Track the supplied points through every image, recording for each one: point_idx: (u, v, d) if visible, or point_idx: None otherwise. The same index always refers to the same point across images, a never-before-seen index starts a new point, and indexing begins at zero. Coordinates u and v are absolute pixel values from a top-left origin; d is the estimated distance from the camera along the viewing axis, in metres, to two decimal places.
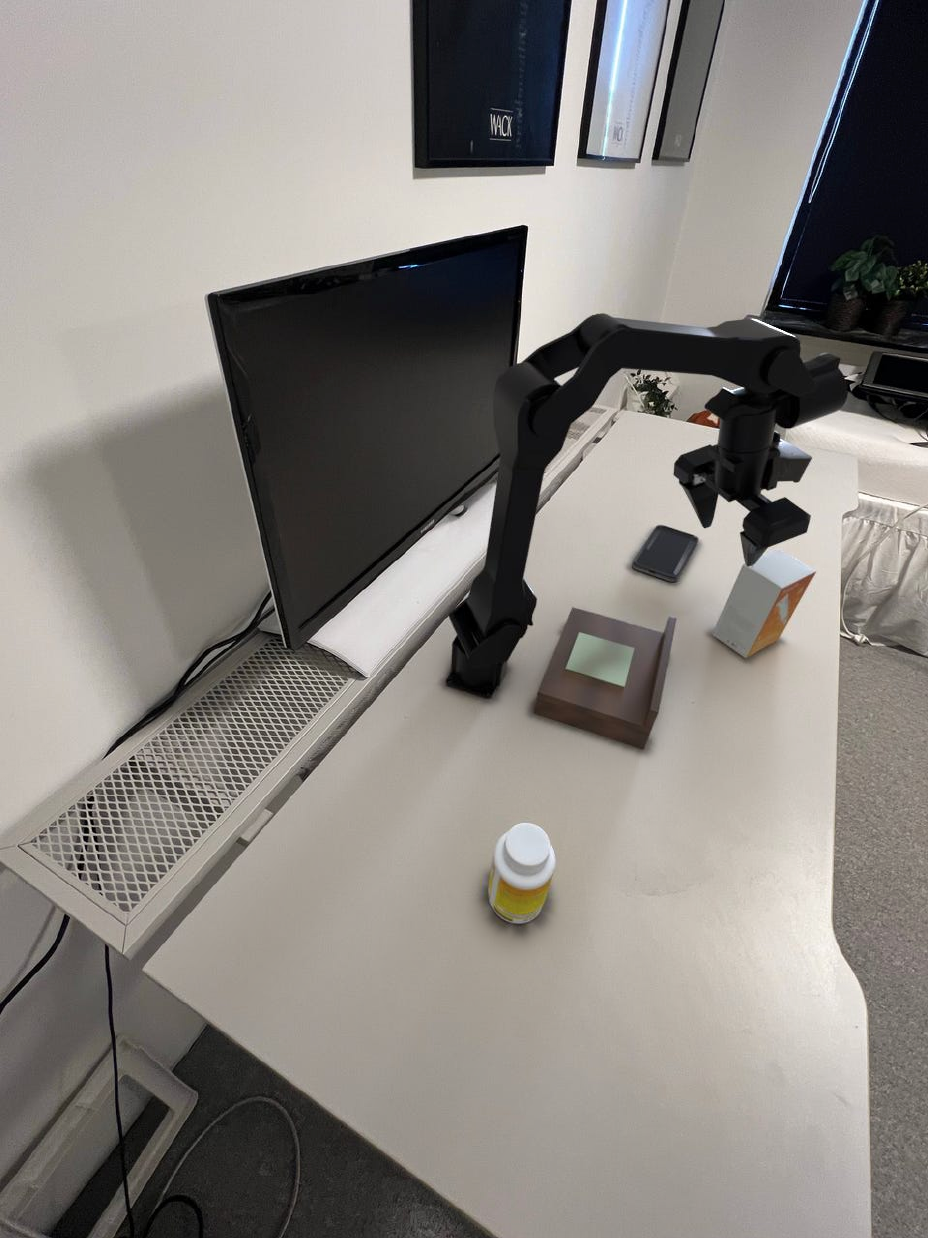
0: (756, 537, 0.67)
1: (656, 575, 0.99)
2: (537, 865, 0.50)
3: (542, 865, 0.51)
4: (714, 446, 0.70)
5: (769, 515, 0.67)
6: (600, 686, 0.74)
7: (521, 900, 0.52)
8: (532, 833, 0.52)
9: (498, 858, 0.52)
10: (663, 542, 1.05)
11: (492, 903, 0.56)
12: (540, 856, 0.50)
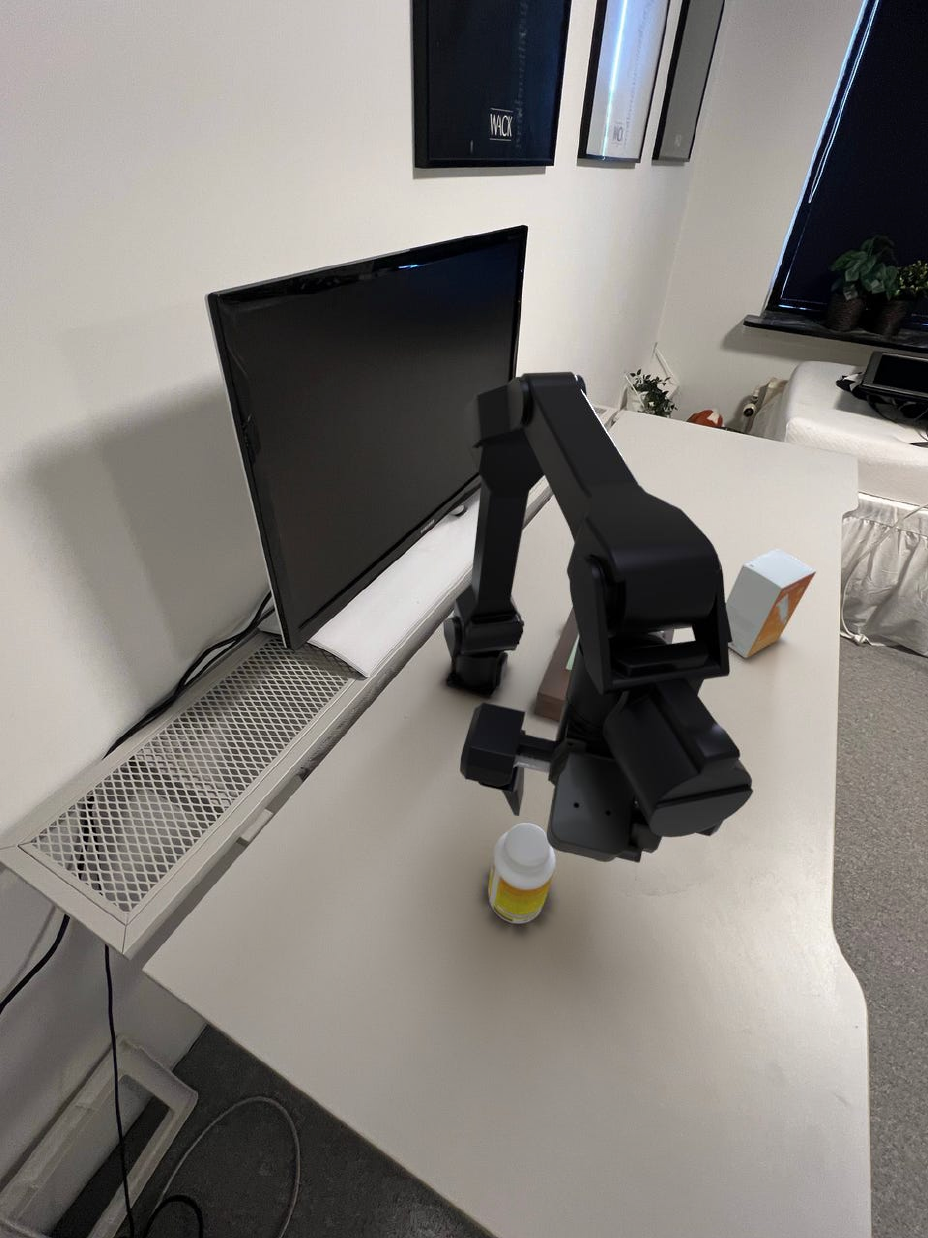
0: None
1: None
2: (537, 865, 0.50)
3: (542, 865, 0.51)
4: None
5: (498, 715, 0.45)
6: None
7: (521, 900, 0.52)
8: (532, 833, 0.52)
9: (498, 858, 0.52)
10: None
11: (492, 903, 0.56)
12: (540, 856, 0.50)
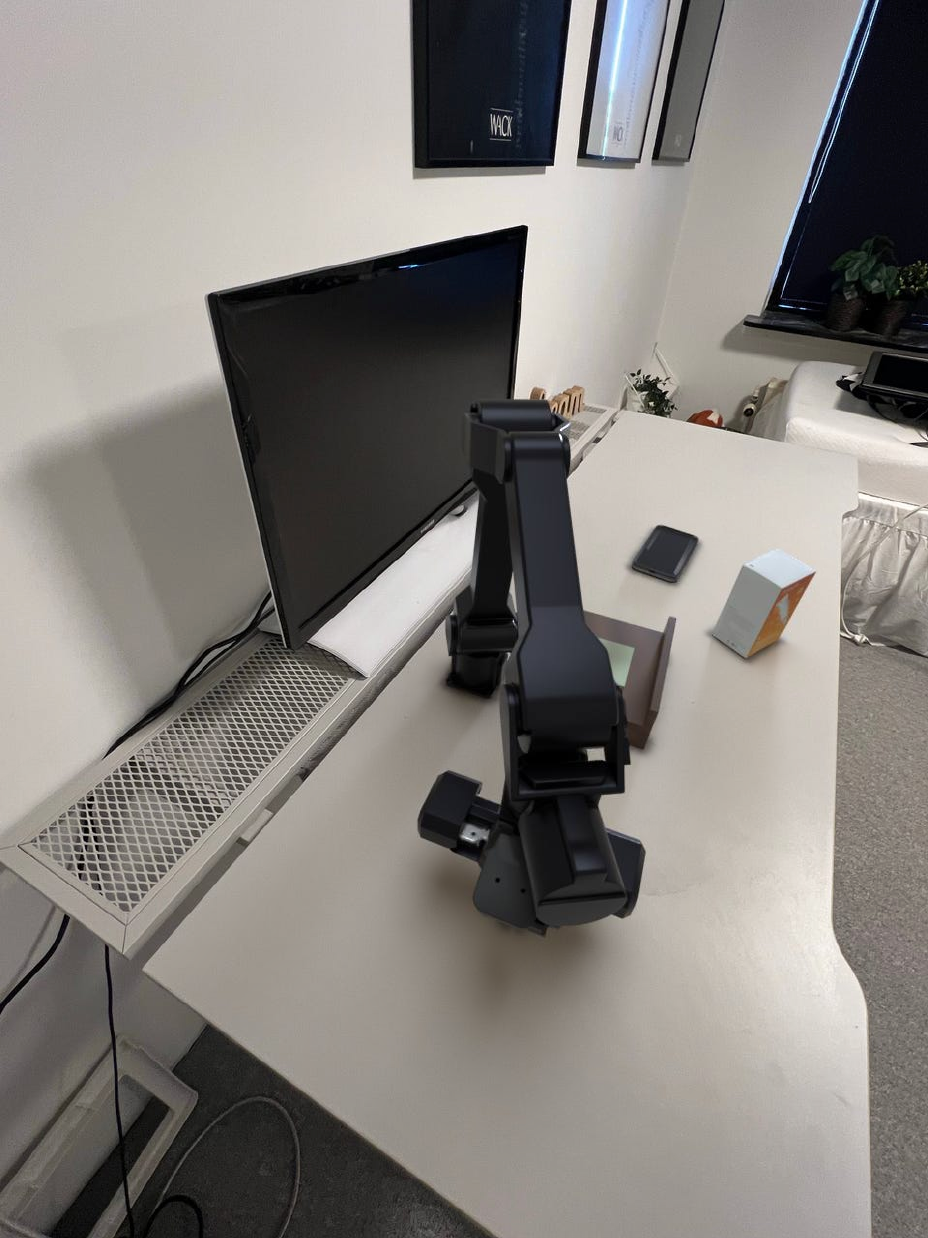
0: None
1: (656, 575, 0.99)
2: None
3: None
4: None
5: (456, 785, 0.52)
6: None
7: None
8: None
9: None
10: (663, 542, 1.05)
11: None
12: None
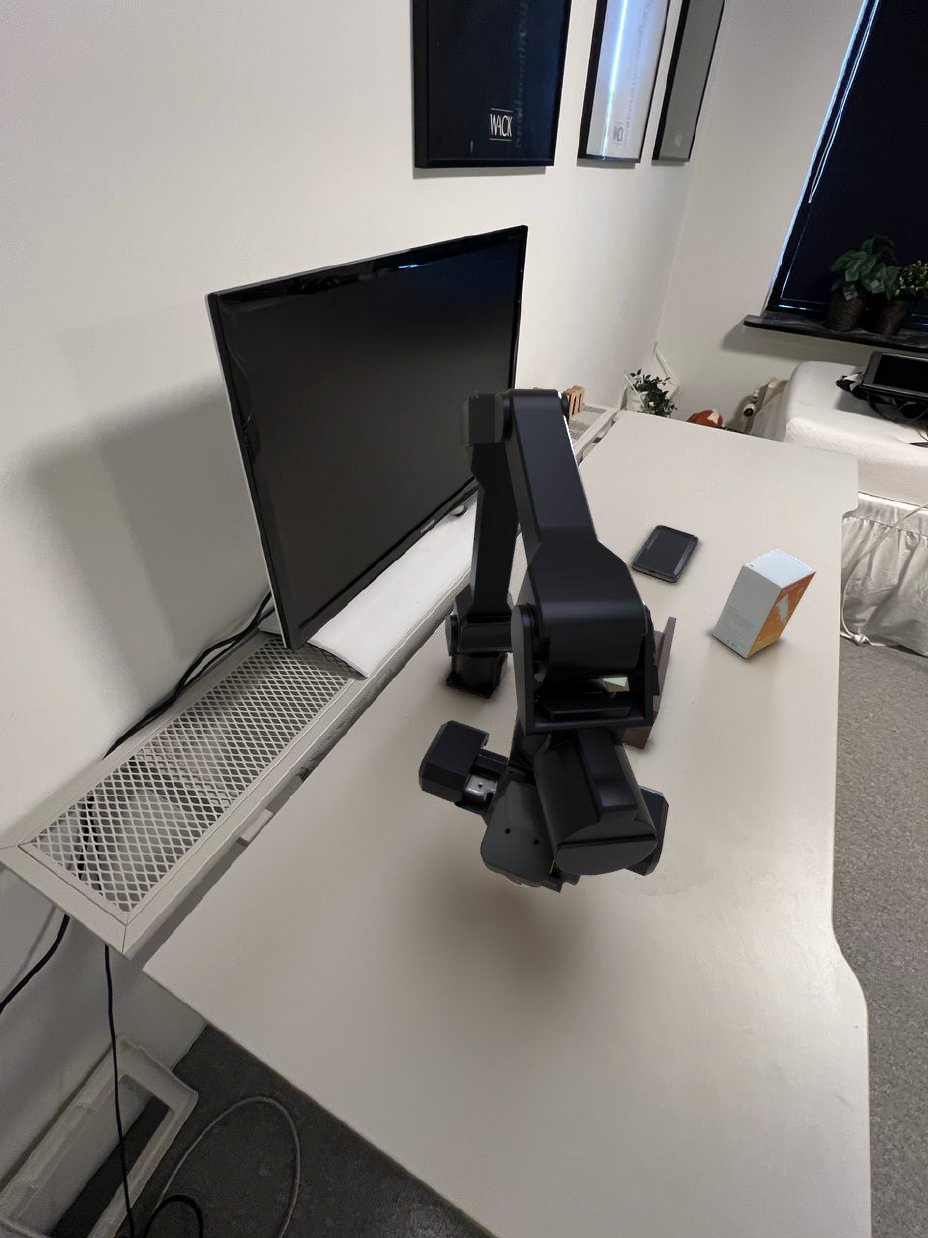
0: None
1: (656, 575, 0.99)
2: None
3: None
4: None
5: (461, 734, 0.48)
6: None
7: None
8: None
9: None
10: (663, 542, 1.05)
11: None
12: None
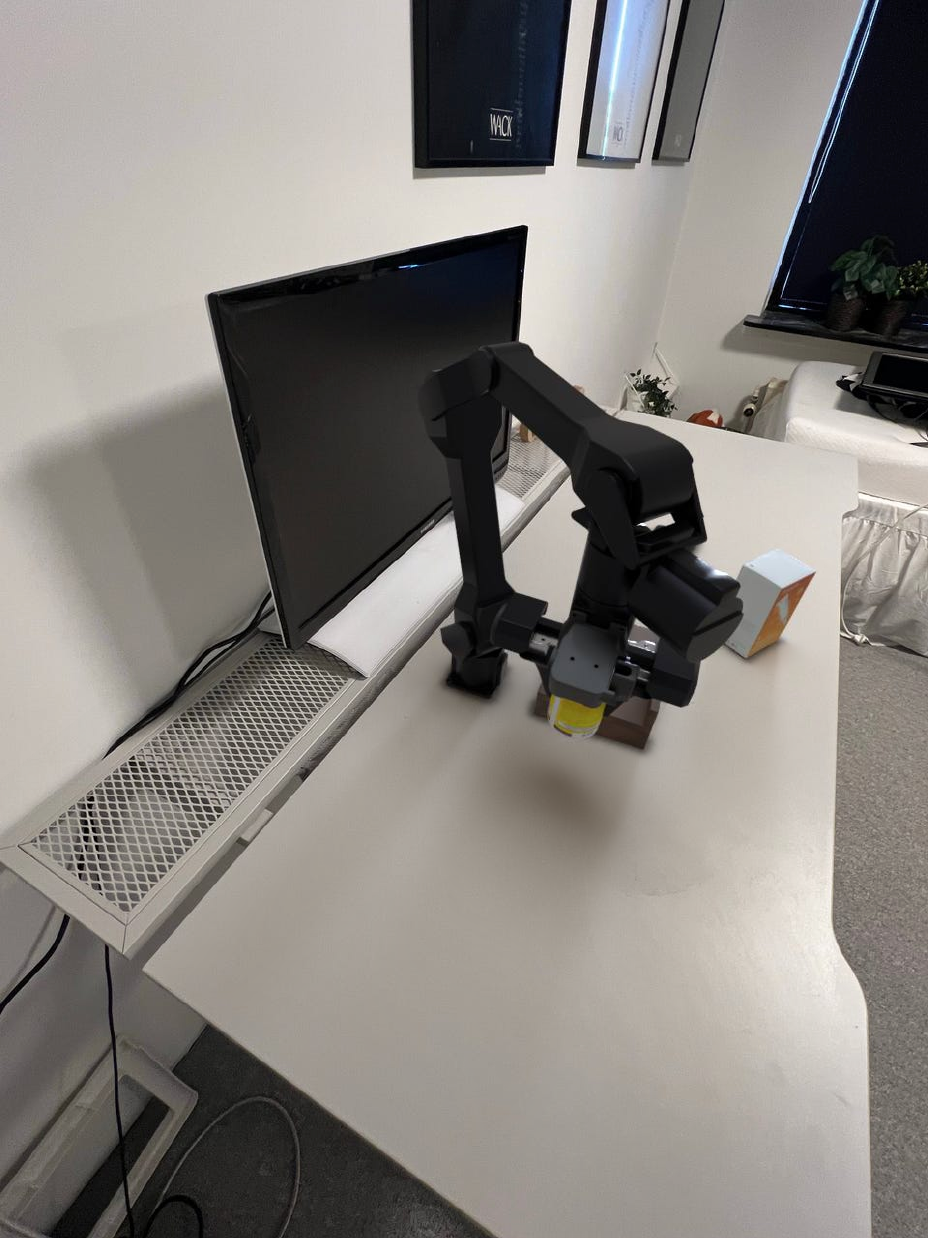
0: None
1: None
2: None
3: None
4: None
5: (525, 601, 0.57)
6: None
7: (583, 709, 0.57)
8: None
9: None
10: None
11: (552, 721, 0.61)
12: None
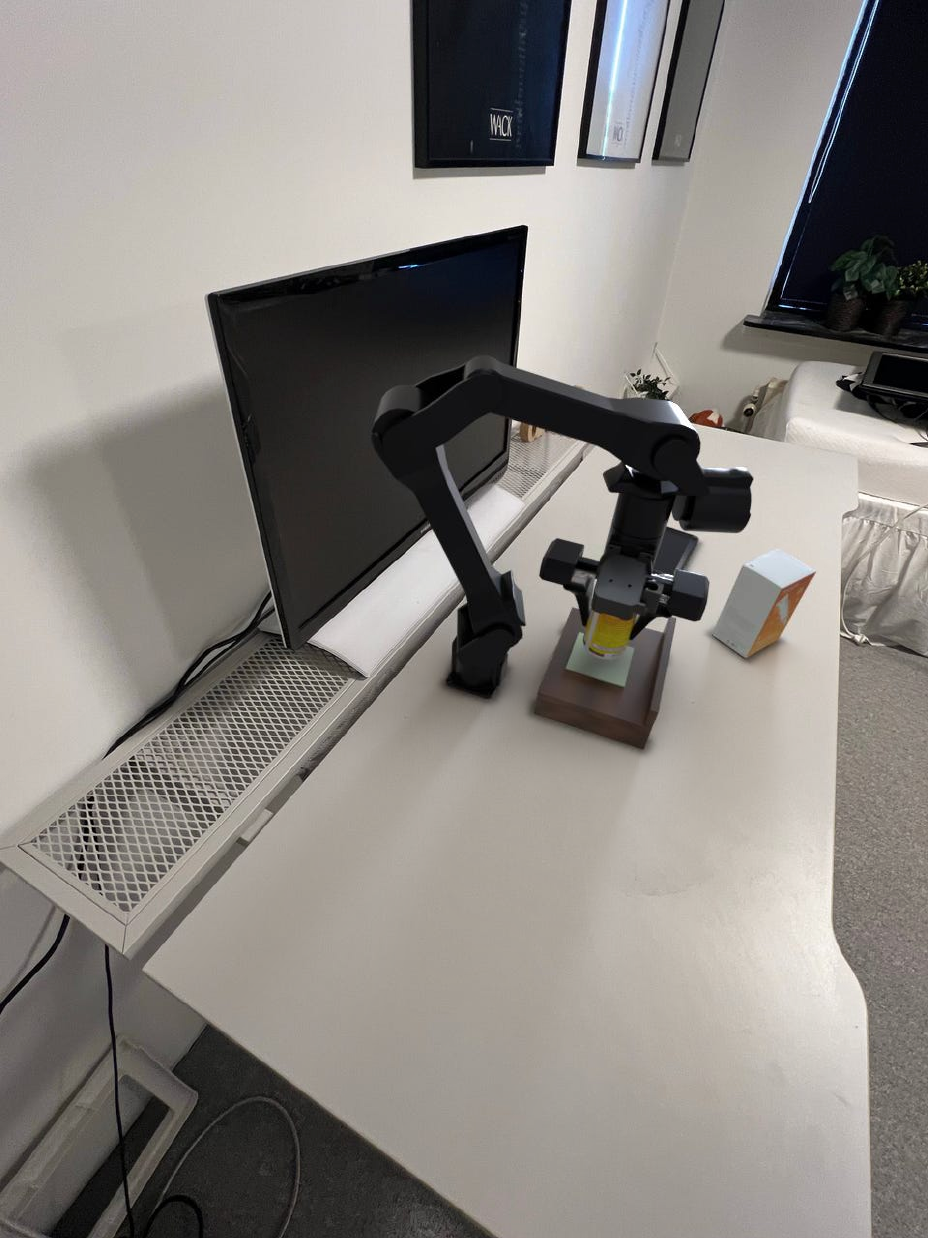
0: None
1: None
2: None
3: None
4: None
5: (567, 544, 0.71)
6: (600, 686, 0.74)
7: (615, 631, 0.71)
8: None
9: None
10: (663, 542, 1.05)
11: (588, 645, 0.75)
12: None
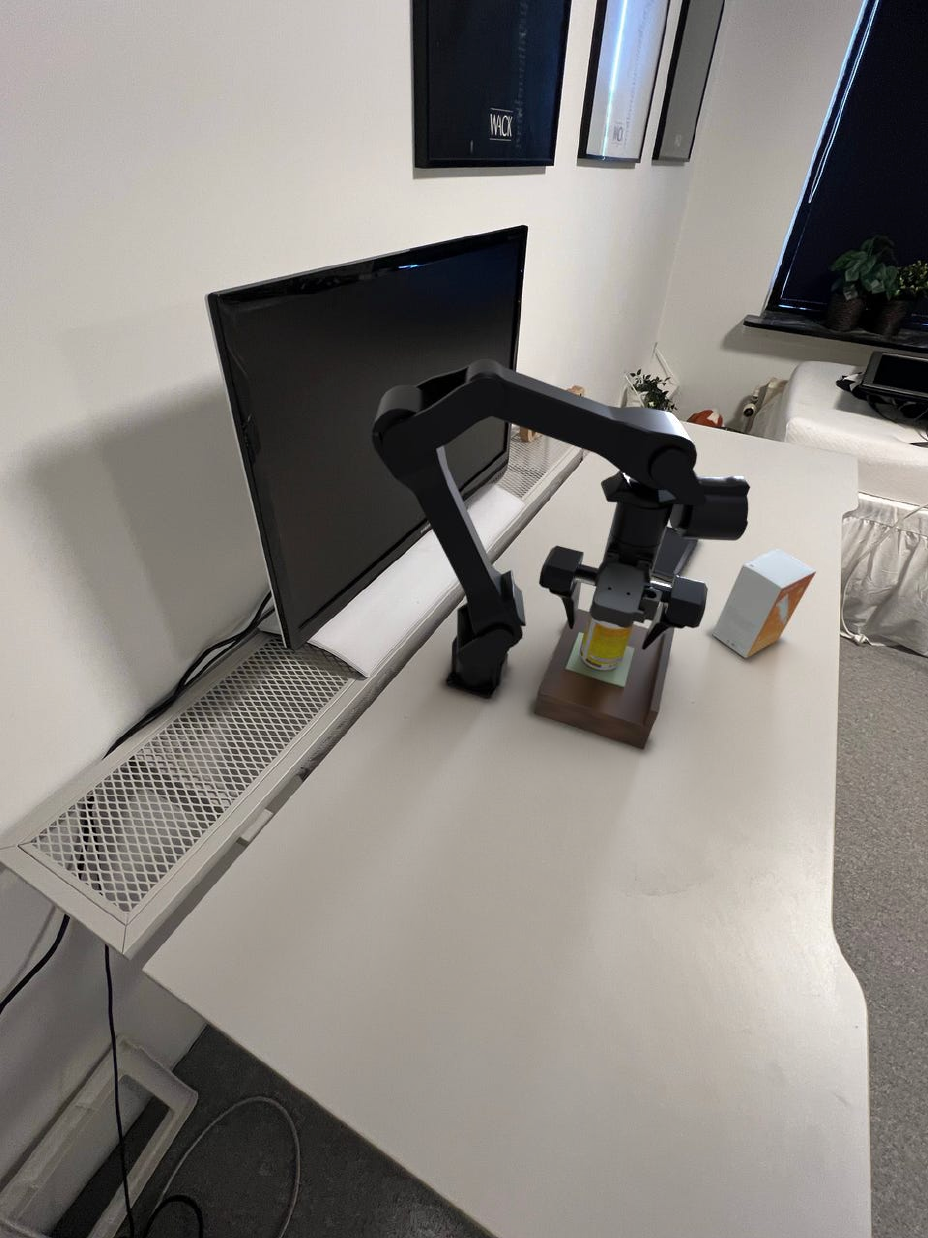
0: None
1: (656, 575, 0.99)
2: None
3: None
4: None
5: (566, 552, 0.71)
6: (600, 686, 0.74)
7: (611, 642, 0.72)
8: None
9: None
10: (663, 542, 1.05)
11: (585, 656, 0.76)
12: None
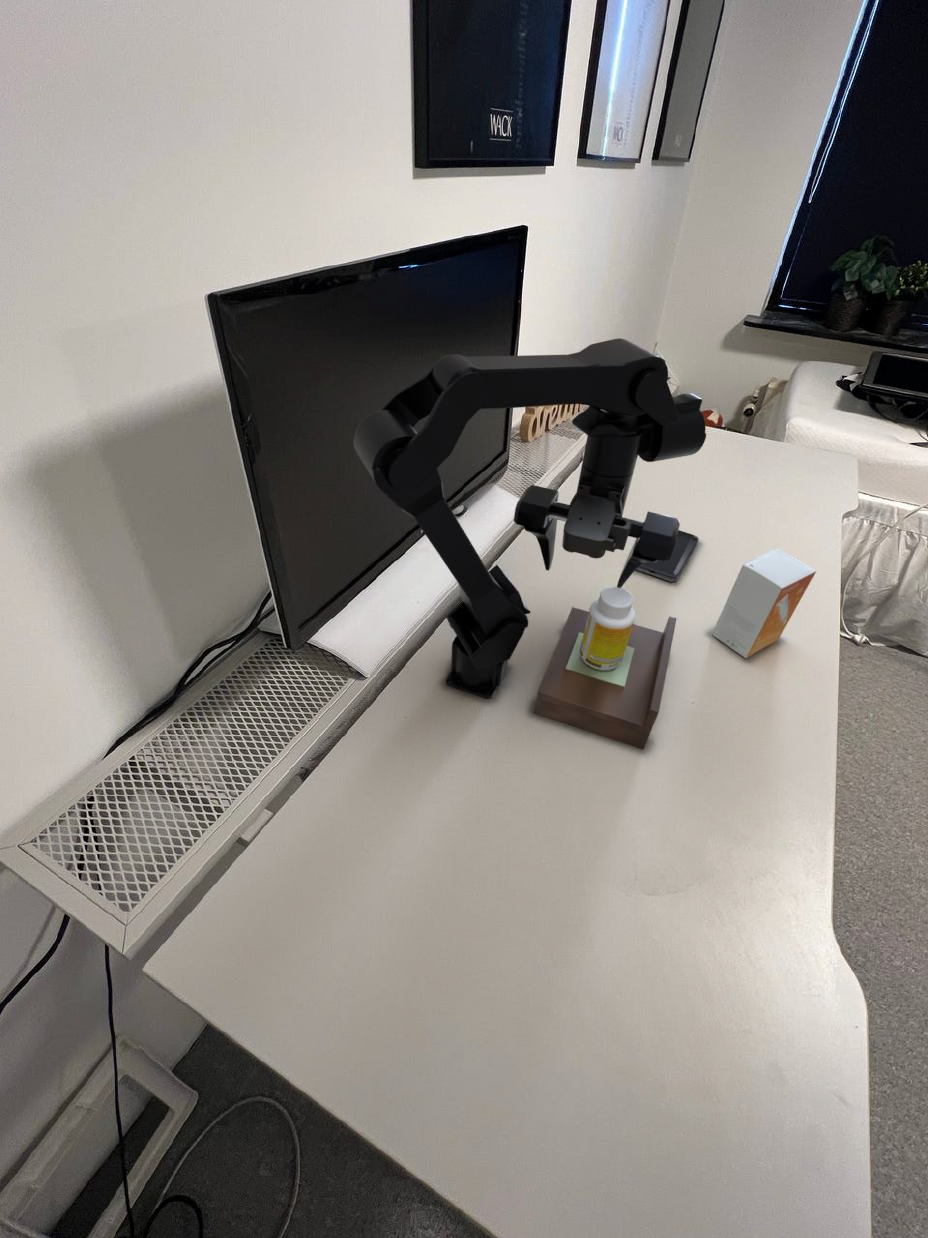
0: None
1: (656, 575, 0.99)
2: (625, 608, 0.70)
3: (628, 610, 0.71)
4: None
5: (541, 490, 0.72)
6: (600, 686, 0.74)
7: (611, 642, 0.72)
8: (619, 592, 0.72)
9: (594, 610, 0.72)
10: None
11: (585, 656, 0.76)
12: (626, 603, 0.70)
